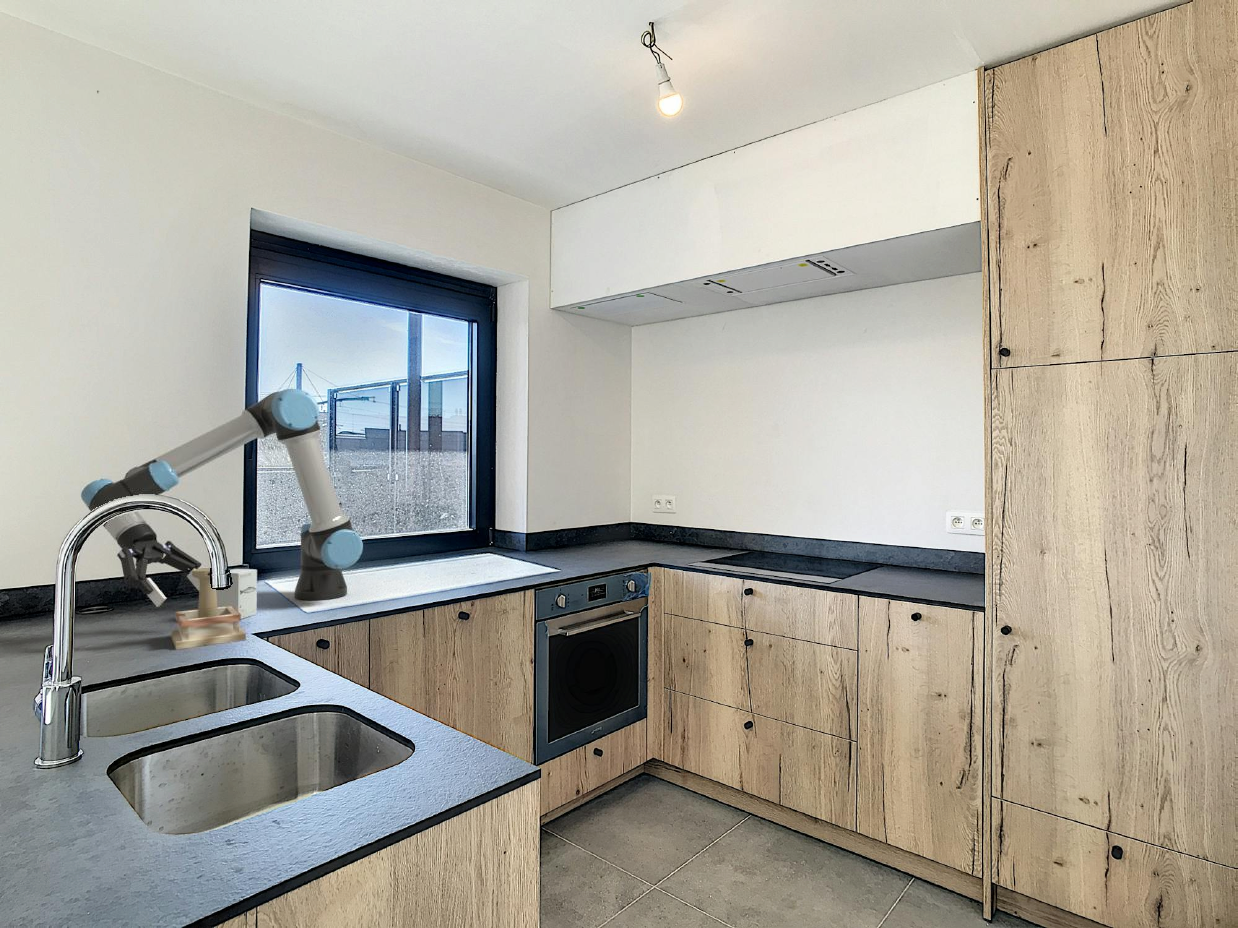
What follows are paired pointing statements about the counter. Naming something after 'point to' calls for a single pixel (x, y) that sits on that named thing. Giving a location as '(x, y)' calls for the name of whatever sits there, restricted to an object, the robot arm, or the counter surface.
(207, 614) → the handle
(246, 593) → the supplement box
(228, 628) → the board
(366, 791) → the counter surface
